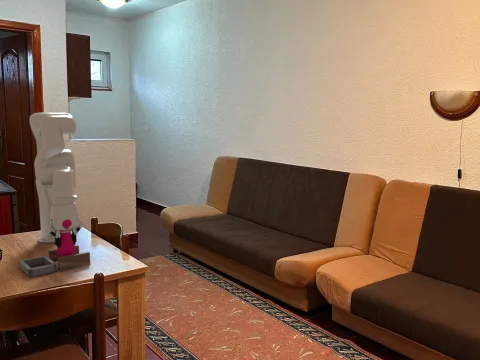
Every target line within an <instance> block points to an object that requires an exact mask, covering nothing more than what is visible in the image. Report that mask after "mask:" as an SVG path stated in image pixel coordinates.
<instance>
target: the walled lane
mask: <svg viewBox="0 0 480 360" xmlns="http://www.w3.org/2000/svg"><path fill="white" fill-rule="evenodd" d="M75 247H76V252H75V253H74V255H69V256H64V257H59V255H58V254H57V248H55V249H49V250H48V251H47V252H48V255H47V257H48V258H49V259H51V260H52V261H53V262H55V263H56V264H57V269H58V271H59V272H62V271H63V272H64V271H67V270H72V269H77V268H81V267H85V266H90V265H91V252H90V251H85V252H81V253H80V245H78V244H76V245H75ZM58 257H59V258H58Z"/></svg>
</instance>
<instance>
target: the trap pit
mask: <svg viewBox="0 0 480 360" xmlns="http://www.w3.org/2000/svg"><path fill="white" fill-rule="evenodd" d="M18 269H20V270H21V271H22V272H23V273H24V274H25V275H26V276H27V277H28V278H29V279H31V278H36V277H40V276H44V275H45V276H46V275H49V274H50V275H51V274H55V273H58V267H57V264H56V263H55V262H53V261H52V260H51V259H49V256H48V255H41V256H35V257H31V258H24V259H19V260H18Z"/></svg>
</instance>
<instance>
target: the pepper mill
mask: <svg viewBox="0 0 480 360" xmlns="http://www.w3.org/2000/svg"><path fill="white" fill-rule="evenodd" d="M71 225H72V222H71V220H69V219H66V220H64V221H63V222H62V226H63V227H64V228H66V229H63V230H60V245H61V247H60V248H58V247H57V246H56V249H57V254H58V255H59V257H64V256H69V255H74V253H75V252H76V247H75V246H76V245H74V243H73V240H72V238H71V234H72V229H71V228H70V229H68V228H69V227H70V226H71ZM59 257H58V258H59Z"/></svg>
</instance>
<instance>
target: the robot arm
mask: <svg viewBox="0 0 480 360" xmlns="http://www.w3.org/2000/svg"><path fill="white" fill-rule="evenodd" d="M29 125H30V129H31V132H32V134H33V136H34V139H35V141H36V152H37V153H36V156H35V160H34V172H35V173H34V174H35V186H36V191H37V196H38V203H39V204H38V205H39V207H38V208H39V218H40V219H39V221H40V236H38V238H37V241H38V242H40V243H44V244H45V243H46V244H49V243H54V245H55V246H56V248H57V247H58V248H60V247H61V245H60V230H63V229H66V228H64V227H63V226H62V222H63V221H64V220H66V219H69V220H71V222H72V225H71V226H70V227H69V228H68V229H70V228H71V229H72V231H71V238H72V240H73V243H74V245H75V246H76V245H77V235H78V233H79V231H81V229H82V228H83V227H84V226H85V223H83V222H82V221H81V220H80V219H79V212H78V207H77V203H76V200H78V196H77V195H74V192H75V190H76V188H77V178H76V177H77V175H76V160H75V154H74V152H73V151H72V150H70V149H65V148H66V143H65V139H64V136H71V135H75V134H76V132H77V123H76V119H75V117H74V116H73V115H72V114H70V113H69V112H45V111H44V112H43V111H42V112H34V113H32V114H31V115H29Z"/></svg>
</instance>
